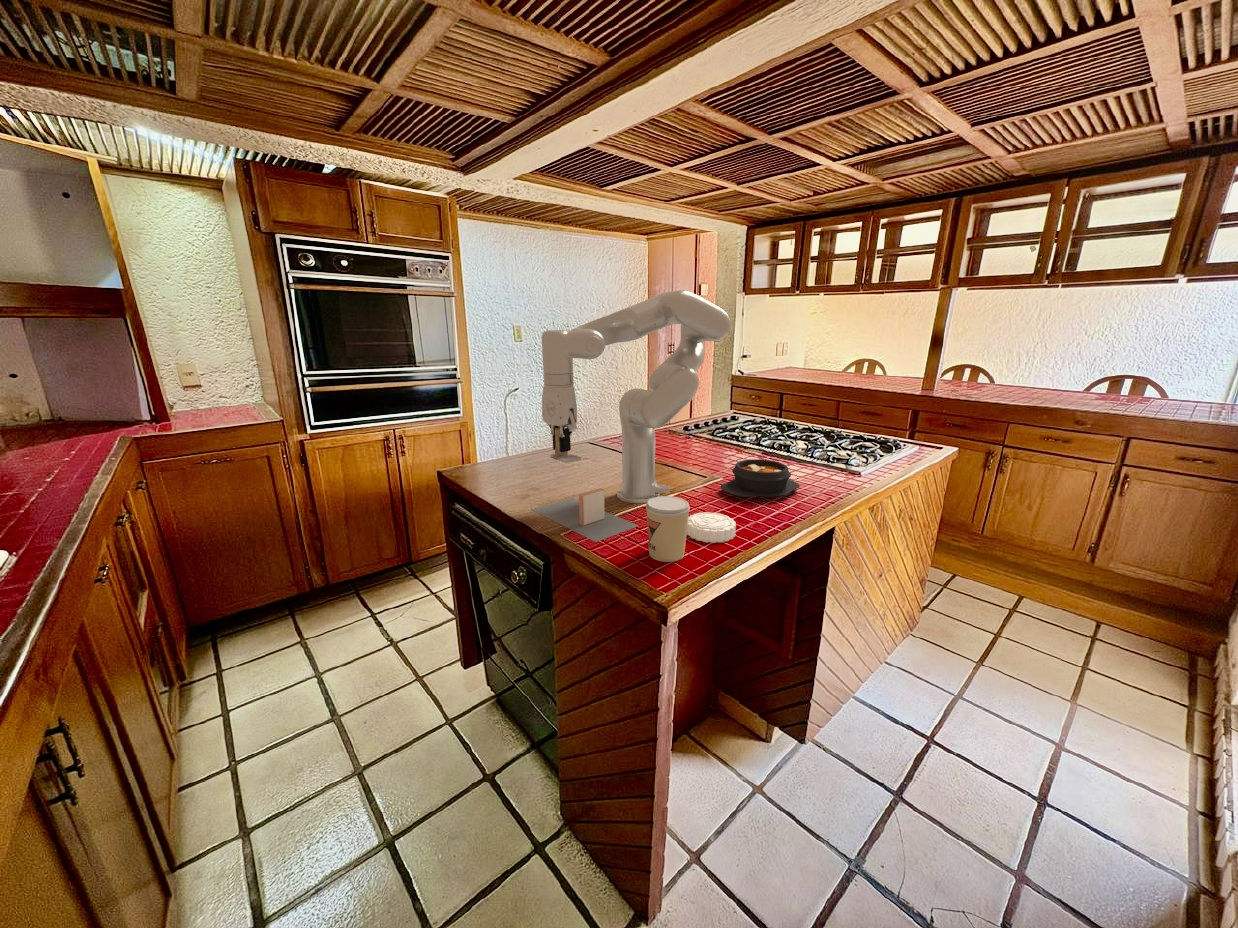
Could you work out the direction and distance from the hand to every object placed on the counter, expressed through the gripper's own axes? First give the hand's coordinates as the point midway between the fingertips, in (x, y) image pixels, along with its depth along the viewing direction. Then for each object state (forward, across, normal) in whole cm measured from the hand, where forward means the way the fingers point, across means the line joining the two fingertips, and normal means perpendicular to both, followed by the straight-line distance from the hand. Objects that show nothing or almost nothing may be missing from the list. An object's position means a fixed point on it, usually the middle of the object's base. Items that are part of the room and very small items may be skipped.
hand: (561, 449), depth 127 cm
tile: (+17, +12, 0) cm, 21 cm away
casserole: (+18, +28, +52) cm, 62 cm away
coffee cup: (+17, +37, +1) cm, 41 cm away
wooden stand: (+2, +2, 0) cm, 3 cm away
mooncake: (+18, +36, +18) cm, 44 cm away
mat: (+17, +8, 0) cm, 19 cm away
